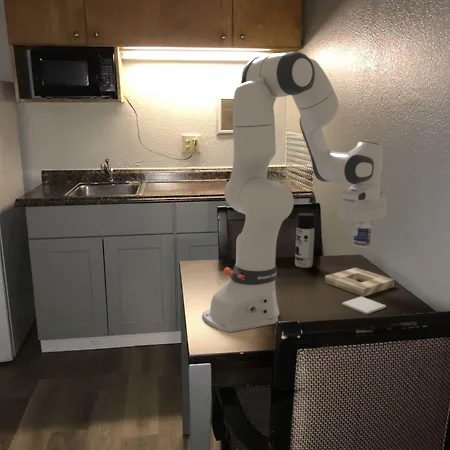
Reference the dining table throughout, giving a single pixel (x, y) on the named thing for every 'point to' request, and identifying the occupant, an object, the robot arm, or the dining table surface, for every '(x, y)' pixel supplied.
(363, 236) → the pill bottle
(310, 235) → the spray can
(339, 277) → the socket block
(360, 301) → the pad
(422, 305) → the dining table surface
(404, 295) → the dining table surface
